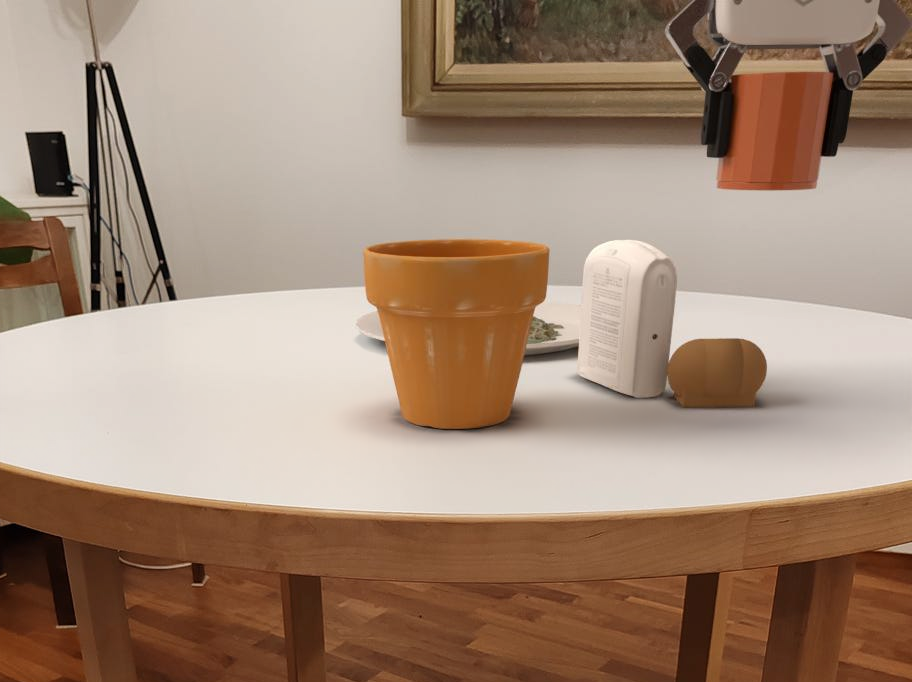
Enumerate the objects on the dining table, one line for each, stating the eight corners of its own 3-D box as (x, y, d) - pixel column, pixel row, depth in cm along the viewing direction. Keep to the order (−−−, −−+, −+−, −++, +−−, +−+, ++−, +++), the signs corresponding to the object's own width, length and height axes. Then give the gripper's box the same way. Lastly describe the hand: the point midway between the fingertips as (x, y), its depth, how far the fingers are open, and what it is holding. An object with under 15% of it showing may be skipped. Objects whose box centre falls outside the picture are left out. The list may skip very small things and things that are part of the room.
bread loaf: (752, 393, 86) (761, 332, 84) (770, 408, 82) (779, 344, 79) (659, 394, 86) (664, 333, 84) (671, 409, 82) (677, 345, 79)
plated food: (655, 324, 117) (657, 294, 116) (566, 375, 94) (567, 338, 92) (432, 309, 130) (432, 282, 128) (304, 350, 106) (302, 318, 105)
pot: (798, 185, 73) (814, 76, 70) (830, 190, 67) (849, 71, 64) (706, 186, 73) (718, 78, 70) (729, 191, 67) (743, 72, 64)
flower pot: (426, 389, 89) (424, 235, 83) (570, 407, 83) (579, 241, 77) (335, 425, 79) (325, 252, 73) (492, 449, 72) (495, 261, 66)
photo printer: (673, 395, 86) (688, 244, 80) (631, 401, 84) (644, 247, 79) (609, 373, 94) (619, 234, 89) (570, 377, 93) (577, 236, 87)
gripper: (684, -179, 58) (655, 159, 66) (983, -184, 57) (917, 156, 65) (660, -147, 64) (636, 157, 72) (927, -151, 64) (873, 154, 72)
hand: (770, 154), depth 69 cm, fingers closed on pot, 6 cm apart
